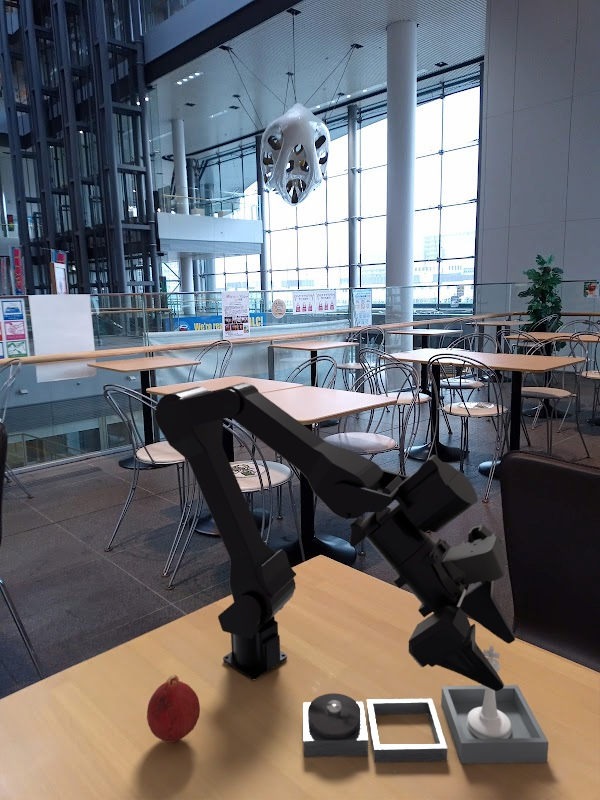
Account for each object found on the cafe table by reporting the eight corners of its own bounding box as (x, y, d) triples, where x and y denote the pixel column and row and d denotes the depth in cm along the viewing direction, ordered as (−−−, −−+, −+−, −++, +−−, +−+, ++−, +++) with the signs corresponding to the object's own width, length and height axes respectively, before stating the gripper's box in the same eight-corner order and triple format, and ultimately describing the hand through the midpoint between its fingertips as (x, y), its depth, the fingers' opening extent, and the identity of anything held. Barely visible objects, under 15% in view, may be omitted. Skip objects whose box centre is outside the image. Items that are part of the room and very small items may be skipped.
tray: (460, 763, 64) (461, 743, 63) (441, 704, 73) (441, 686, 72) (547, 762, 64) (548, 741, 63) (516, 703, 73) (517, 685, 72)
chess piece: (509, 747, 65) (512, 665, 63) (462, 734, 67) (464, 654, 65) (513, 718, 69) (517, 640, 67) (470, 706, 71) (472, 630, 70)
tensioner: (303, 763, 64) (303, 730, 64) (303, 712, 72) (303, 682, 71) (447, 761, 64) (447, 728, 63) (431, 710, 72) (432, 680, 71)
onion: (176, 767, 64) (171, 701, 63) (138, 746, 67) (133, 683, 66) (211, 733, 69) (208, 671, 67) (174, 715, 72) (170, 655, 70)
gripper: (442, 546, 57) (561, 681, 54) (478, 487, 73) (570, 588, 71) (364, 604, 62) (469, 730, 59) (414, 536, 78) (498, 632, 75)
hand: (506, 663), depth 66 cm, fingers open, 9 cm apart
